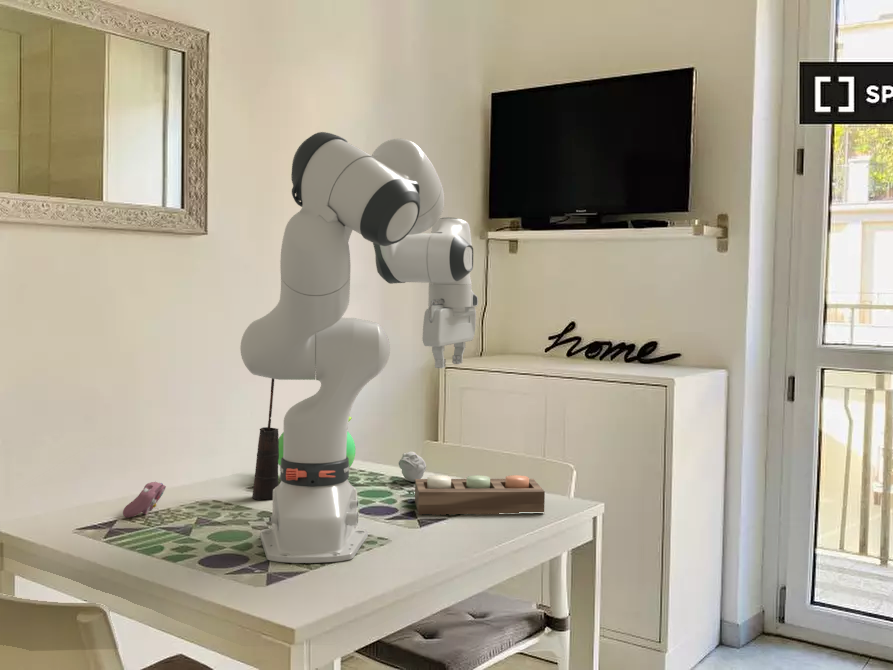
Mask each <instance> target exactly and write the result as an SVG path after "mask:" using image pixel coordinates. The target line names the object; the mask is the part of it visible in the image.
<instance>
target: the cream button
mask: <svg viewBox="0 0 893 670" xmlns="http://www.w3.org/2000/svg"><path fill="white" fill-rule="evenodd" d="M426 479H427V489H451V479H452V477H450V476H448V475H429V476H427V478H426Z"/></svg>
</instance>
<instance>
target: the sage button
mask: <svg viewBox="0 0 893 670" xmlns="http://www.w3.org/2000/svg"><path fill="white" fill-rule="evenodd" d="M466 479H467V485H466V489H474V488H490V479H491V477H490V476H487V475H477V474H476V475H468V476H467V477H466Z"/></svg>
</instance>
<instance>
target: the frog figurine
mask: <svg viewBox="0 0 893 670" xmlns="http://www.w3.org/2000/svg"><path fill="white" fill-rule="evenodd" d="M398 466H399V469H400V470H401V474H402V476H403V477H404V479H405V480H406V481H409V482H412V483H415V479H423V477H424V473H425V471H426V469H427V464H426V461H425V460H424V458H423V457H421V456H420V455H418V454H417V453H416V451H415V452H414V451H408V452H403V453H402V457H401V459H399V460H398Z"/></svg>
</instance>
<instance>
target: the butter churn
mask: <svg viewBox="0 0 893 670" xmlns="http://www.w3.org/2000/svg"><path fill="white" fill-rule="evenodd" d="M274 387H275V379H272V378H271V382H270V399H269V407H268V408H269V411H268V422H267V427H266V426H264V427H261V428H259V436H258V441H257V442H258V443H257V453H256V463H255V468H254V469H255V472H254V481H253V487H252V488H253V489H252V499H254V500H257V501H261V500H273V489H275V487H277V486H278V485H279V464H278V459H279V437H280V436H279V428H276V427H271V426H272V424H271V423H272V418H271V417H272V411H273V400H274V389H275V388H274Z"/></svg>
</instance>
